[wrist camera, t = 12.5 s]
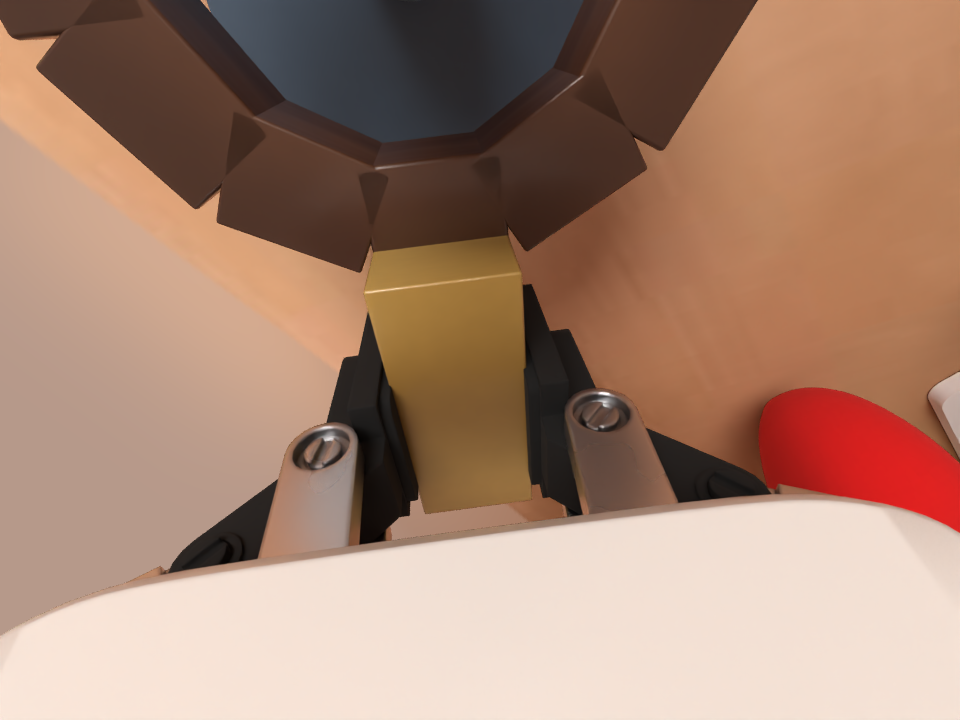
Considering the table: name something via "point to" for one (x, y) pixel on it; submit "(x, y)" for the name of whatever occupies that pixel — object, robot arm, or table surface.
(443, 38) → the peg rack
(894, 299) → the table surface
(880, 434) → the heart
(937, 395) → the tablet stand
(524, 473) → the walnut ring
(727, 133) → the table surface
